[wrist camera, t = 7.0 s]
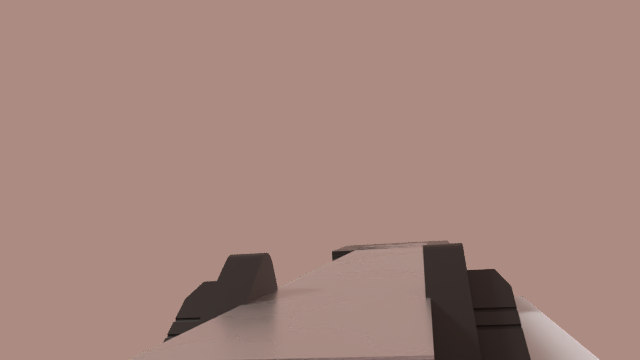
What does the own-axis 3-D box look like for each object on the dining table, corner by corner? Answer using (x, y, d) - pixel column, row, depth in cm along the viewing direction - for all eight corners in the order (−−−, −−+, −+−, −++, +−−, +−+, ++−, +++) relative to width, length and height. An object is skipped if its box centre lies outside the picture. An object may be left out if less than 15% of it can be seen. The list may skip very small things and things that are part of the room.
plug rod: (581, 719, 5) (550, 352, 5) (37, 678, 6) (30, 365, 6) (451, 301, 30) (447, 240, 30) (350, 305, 30) (346, 245, 31)
